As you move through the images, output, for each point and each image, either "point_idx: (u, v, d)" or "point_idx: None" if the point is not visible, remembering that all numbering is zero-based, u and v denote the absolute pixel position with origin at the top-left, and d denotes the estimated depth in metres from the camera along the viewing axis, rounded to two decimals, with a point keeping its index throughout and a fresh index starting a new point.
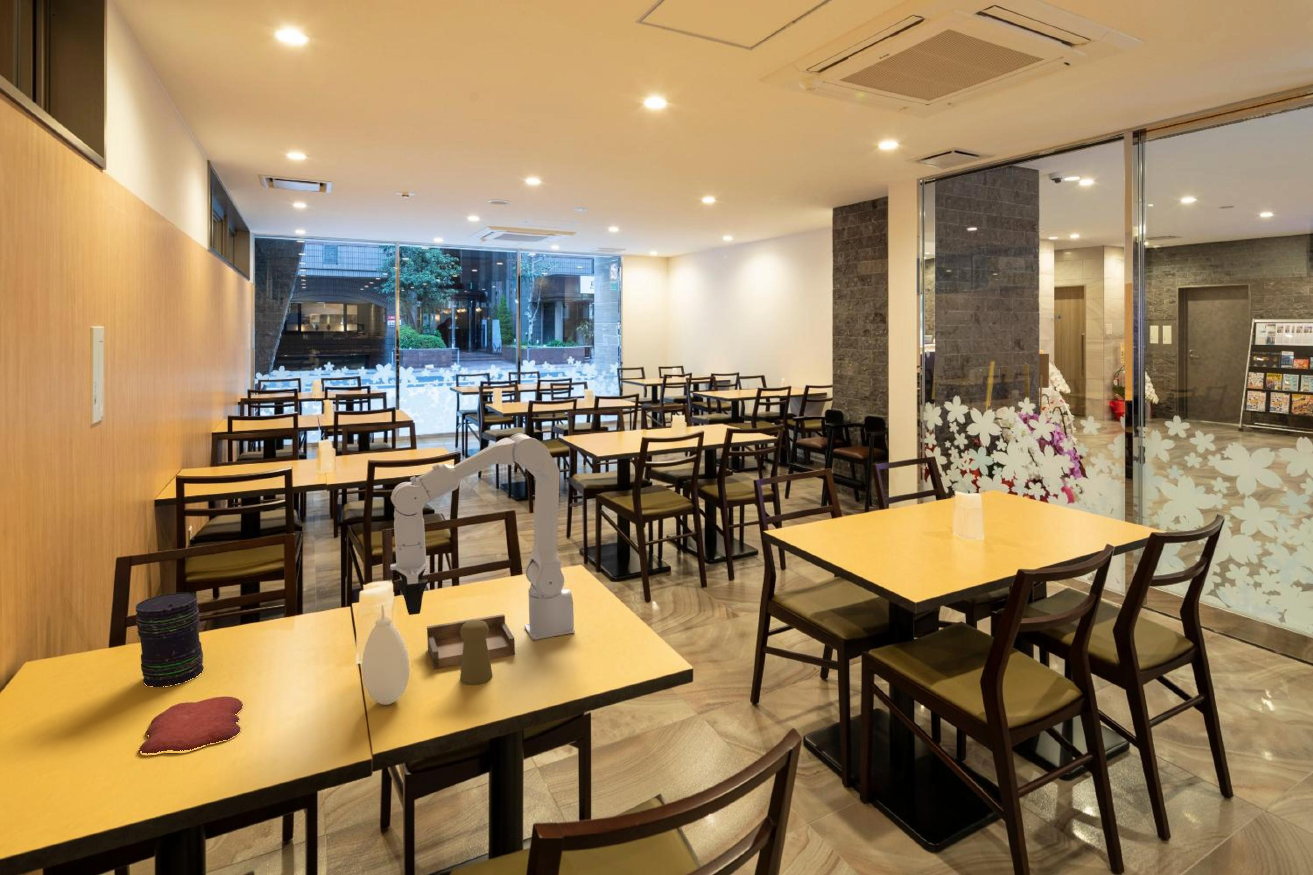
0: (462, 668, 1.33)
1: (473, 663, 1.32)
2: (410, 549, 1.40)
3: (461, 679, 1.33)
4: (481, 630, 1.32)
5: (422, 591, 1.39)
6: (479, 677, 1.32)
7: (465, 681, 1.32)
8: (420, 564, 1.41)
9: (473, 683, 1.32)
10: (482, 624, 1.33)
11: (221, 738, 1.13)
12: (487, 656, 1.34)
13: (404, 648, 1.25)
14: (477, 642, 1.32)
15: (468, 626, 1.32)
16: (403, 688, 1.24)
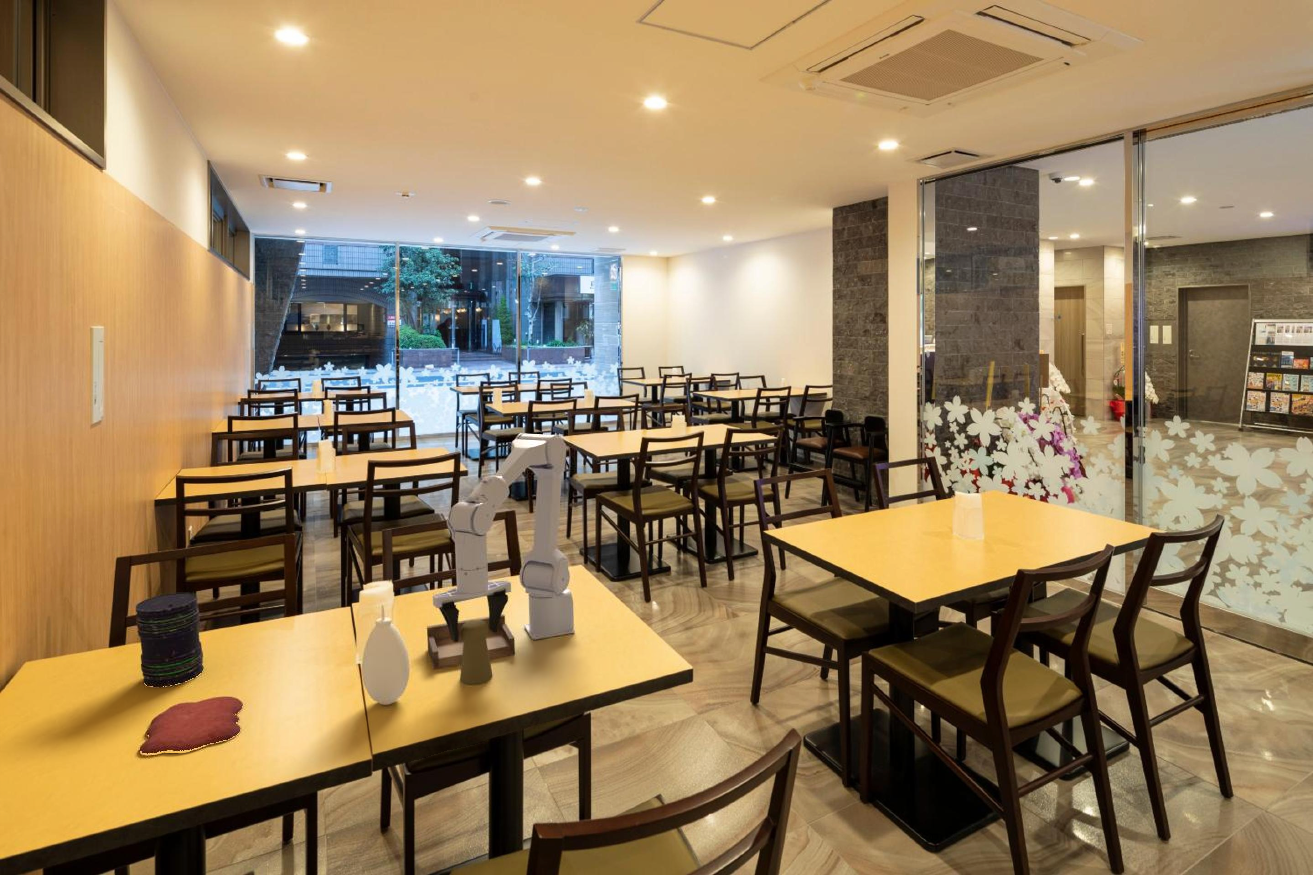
0: (462, 668, 1.33)
1: (473, 663, 1.32)
2: (457, 572, 1.31)
3: (461, 679, 1.33)
4: (481, 631, 1.32)
5: (448, 619, 1.29)
6: (479, 677, 1.32)
7: (465, 681, 1.32)
8: (464, 592, 1.30)
9: (473, 683, 1.32)
10: (482, 624, 1.33)
11: (221, 738, 1.13)
12: (487, 656, 1.34)
13: (404, 648, 1.25)
14: (477, 642, 1.32)
15: (468, 626, 1.32)
16: (403, 688, 1.24)
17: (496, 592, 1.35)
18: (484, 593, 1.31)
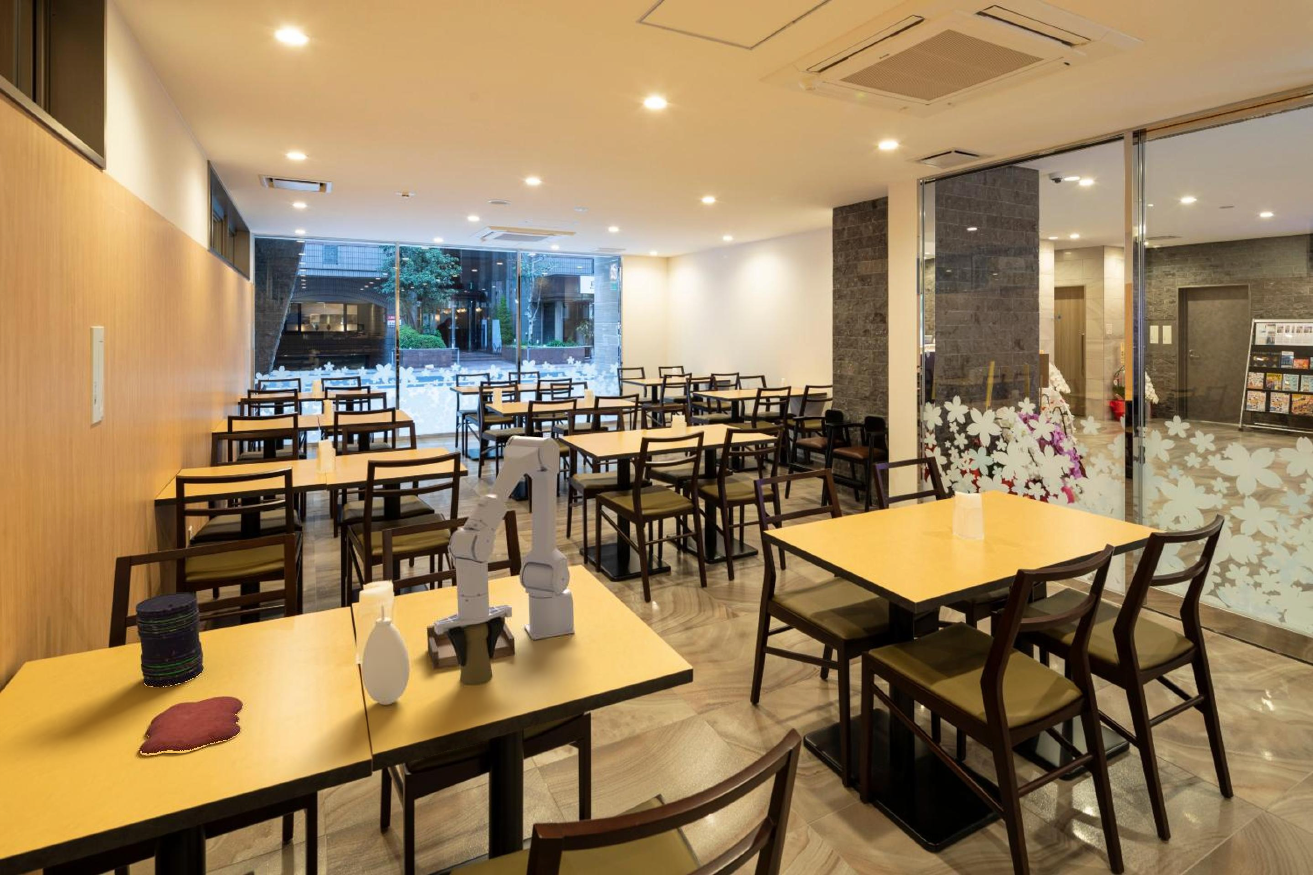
0: (462, 668, 1.33)
1: (473, 663, 1.32)
2: (458, 598, 1.31)
3: (461, 679, 1.33)
4: (481, 630, 1.32)
5: (455, 644, 1.30)
6: (479, 677, 1.32)
7: (465, 681, 1.32)
8: (465, 618, 1.31)
9: (473, 683, 1.32)
10: (482, 624, 1.33)
11: (222, 738, 1.13)
12: (487, 656, 1.34)
13: (404, 648, 1.25)
14: (477, 642, 1.32)
15: (468, 626, 1.32)
16: (403, 688, 1.24)
17: (492, 618, 1.35)
18: (485, 619, 1.32)
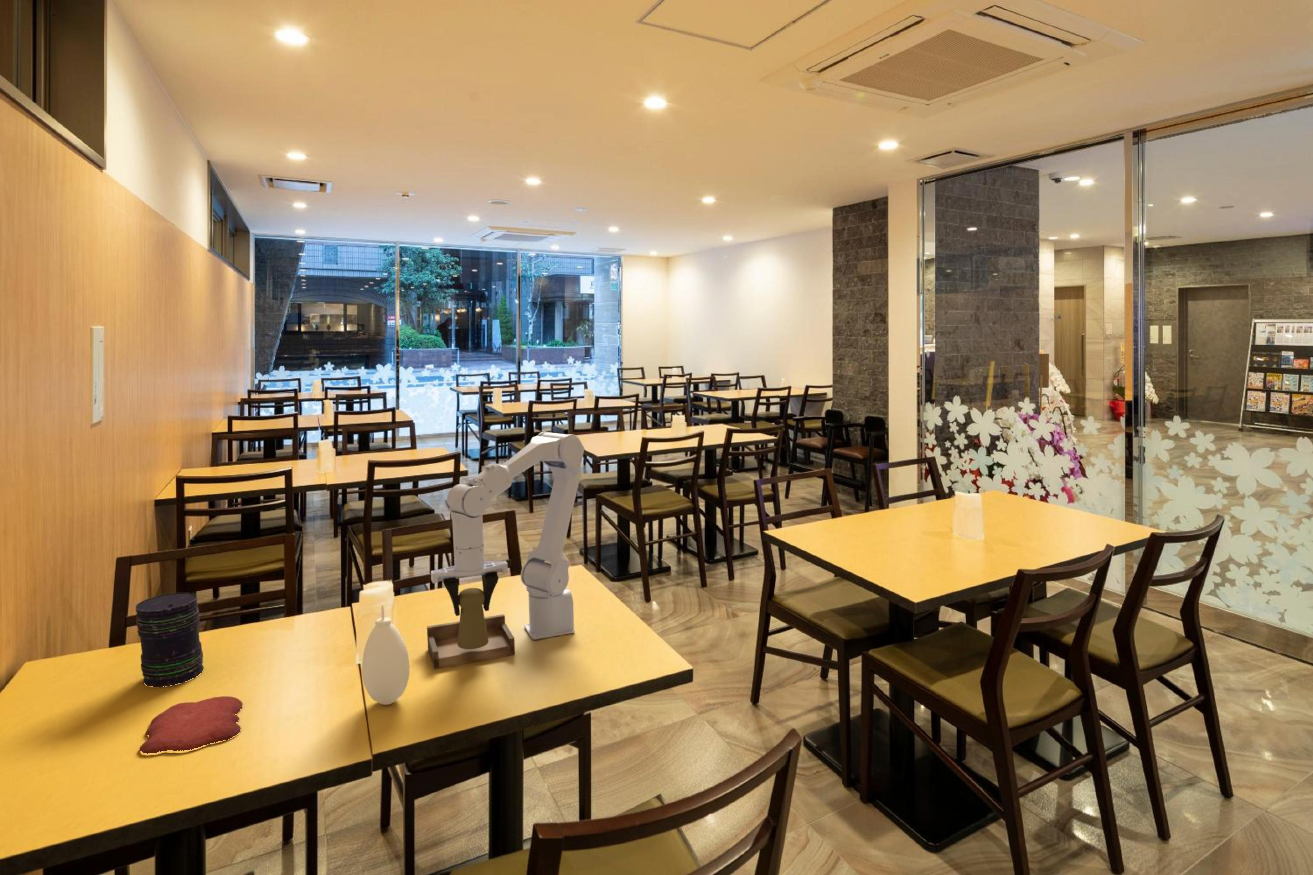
0: (459, 632, 1.40)
1: (466, 628, 1.38)
2: (454, 551, 1.38)
3: None
4: (474, 598, 1.38)
5: (449, 594, 1.37)
6: (472, 642, 1.38)
7: (460, 645, 1.39)
8: (459, 569, 1.37)
9: (466, 647, 1.38)
10: (478, 592, 1.39)
11: (222, 738, 1.13)
12: (482, 623, 1.40)
13: (404, 648, 1.25)
14: (471, 609, 1.38)
15: (463, 593, 1.39)
16: (403, 688, 1.24)
17: (488, 572, 1.41)
18: (478, 572, 1.38)
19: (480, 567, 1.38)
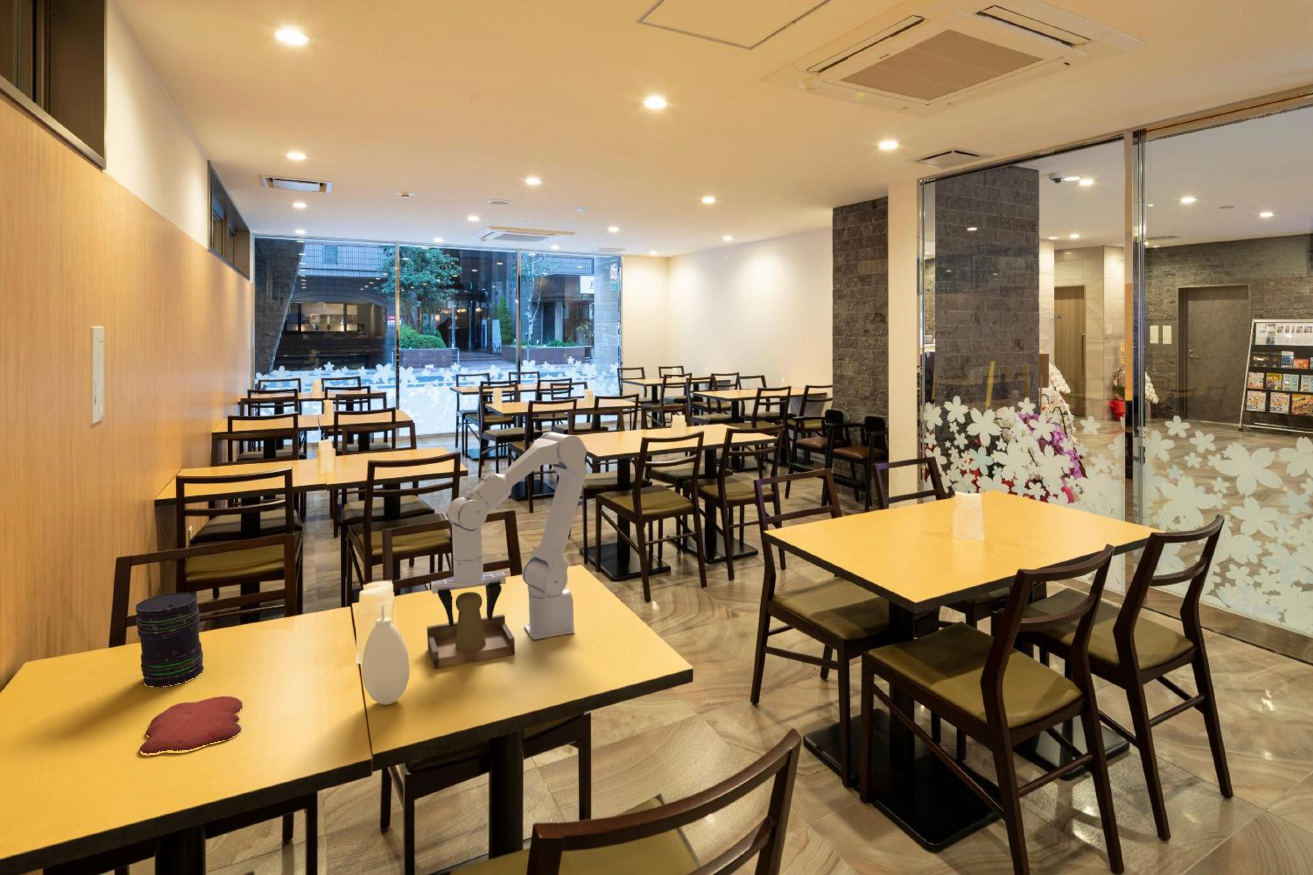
0: None
1: (464, 631, 1.42)
2: (453, 562, 1.42)
3: None
4: (472, 602, 1.41)
5: None
6: (469, 645, 1.42)
7: (457, 647, 1.42)
8: (458, 580, 1.41)
9: (464, 650, 1.42)
10: (475, 596, 1.42)
11: (222, 738, 1.13)
12: (479, 626, 1.43)
13: (404, 648, 1.25)
14: (469, 612, 1.42)
15: (461, 597, 1.42)
16: (403, 688, 1.24)
17: (491, 583, 1.45)
18: (477, 583, 1.41)
19: (479, 578, 1.42)
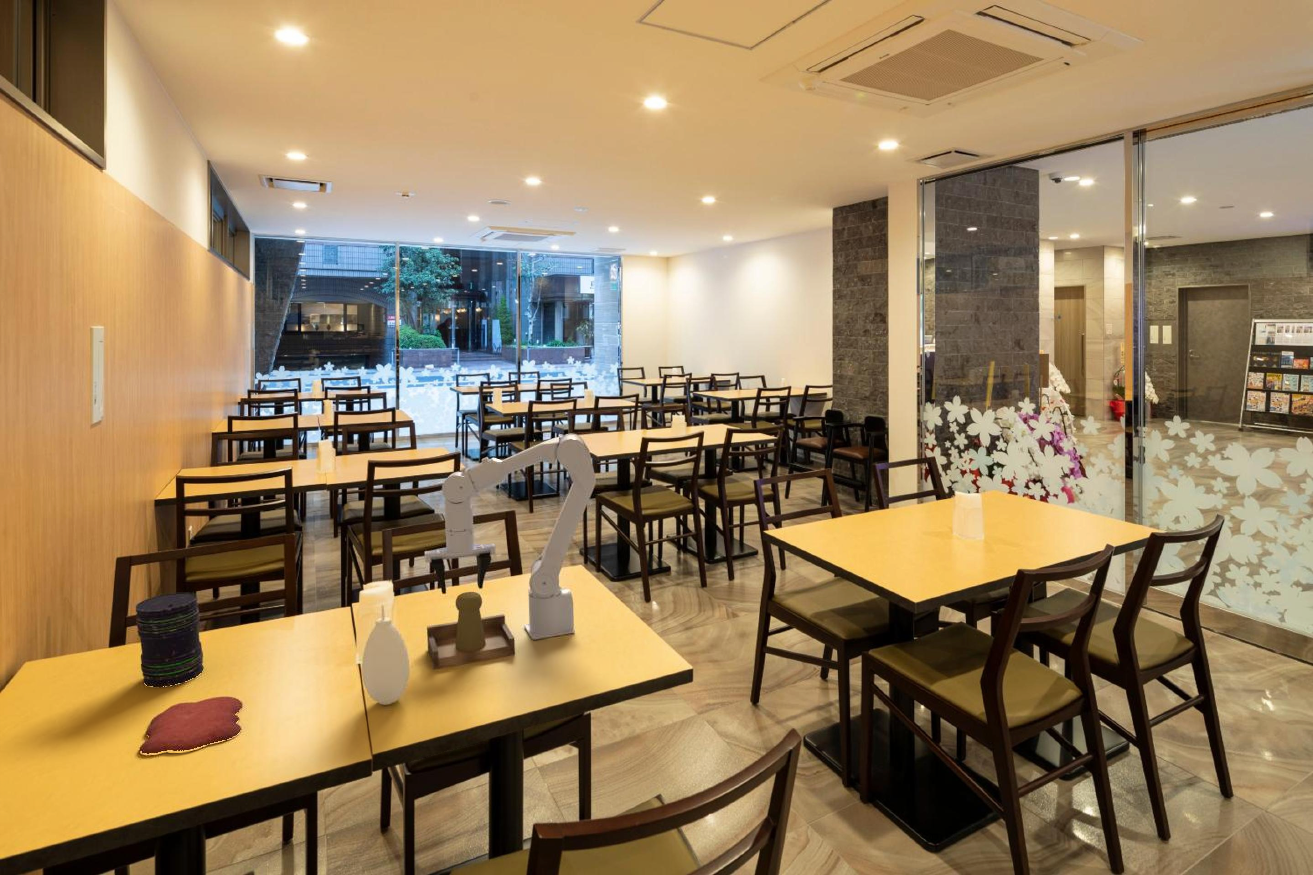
0: (456, 635, 1.43)
1: (464, 631, 1.42)
2: (446, 533, 1.50)
3: None
4: (472, 602, 1.41)
5: (436, 573, 1.49)
6: (469, 645, 1.42)
7: (457, 647, 1.42)
8: (450, 550, 1.49)
9: (464, 650, 1.42)
10: (475, 596, 1.42)
11: (222, 738, 1.14)
12: (479, 626, 1.43)
13: (404, 648, 1.25)
14: (469, 612, 1.42)
15: (461, 597, 1.42)
16: (403, 688, 1.24)
17: (482, 553, 1.53)
18: (468, 553, 1.50)
19: (470, 548, 1.50)
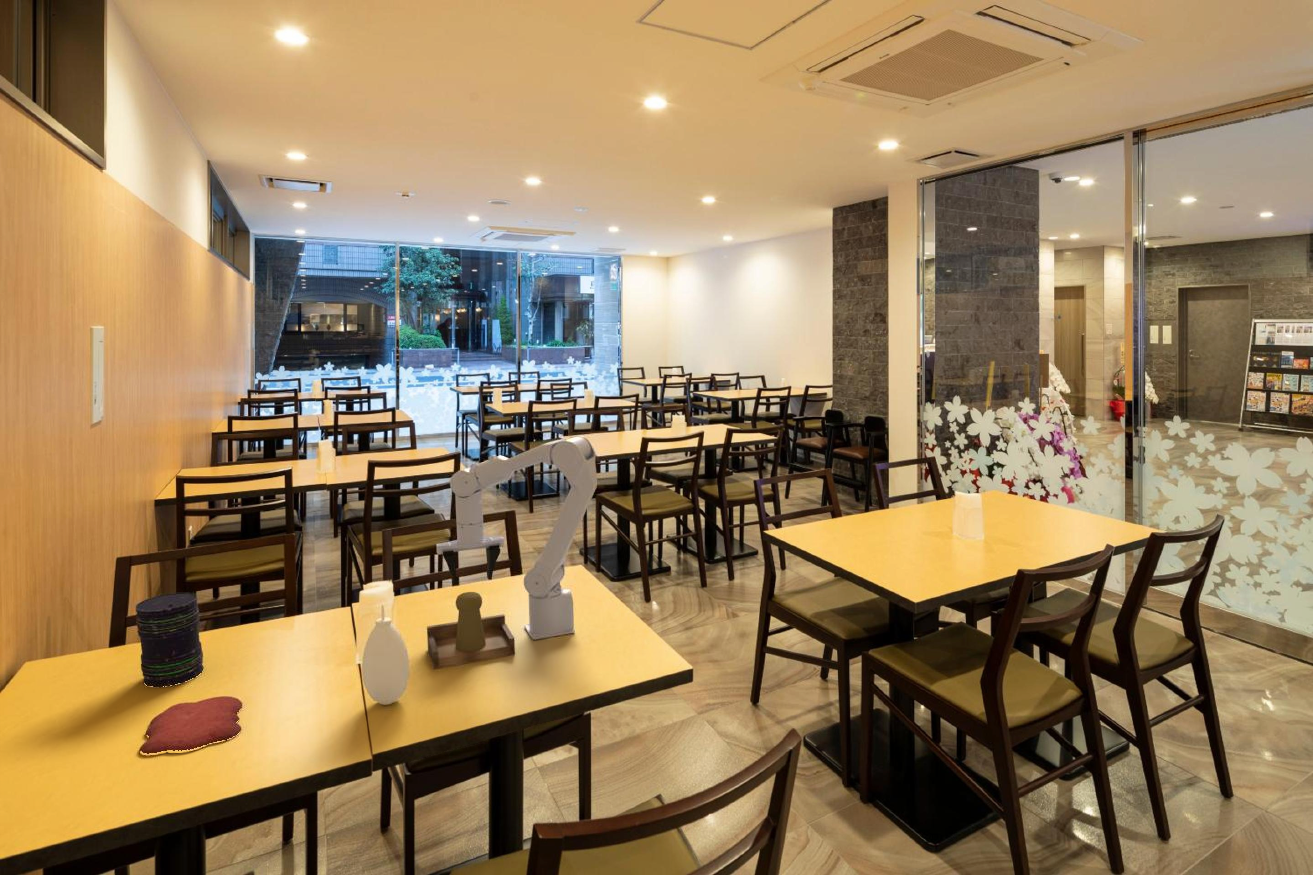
0: None
1: (464, 631, 1.42)
2: None
3: None
4: (472, 602, 1.41)
5: None
6: (469, 645, 1.42)
7: (457, 647, 1.42)
8: (461, 543, 1.55)
9: (464, 650, 1.42)
10: (475, 596, 1.42)
11: (222, 737, 1.14)
12: (479, 626, 1.43)
13: (404, 648, 1.25)
14: (469, 612, 1.42)
15: (461, 597, 1.42)
16: (403, 688, 1.24)
17: (491, 546, 1.59)
18: (478, 545, 1.56)
19: (480, 541, 1.56)
